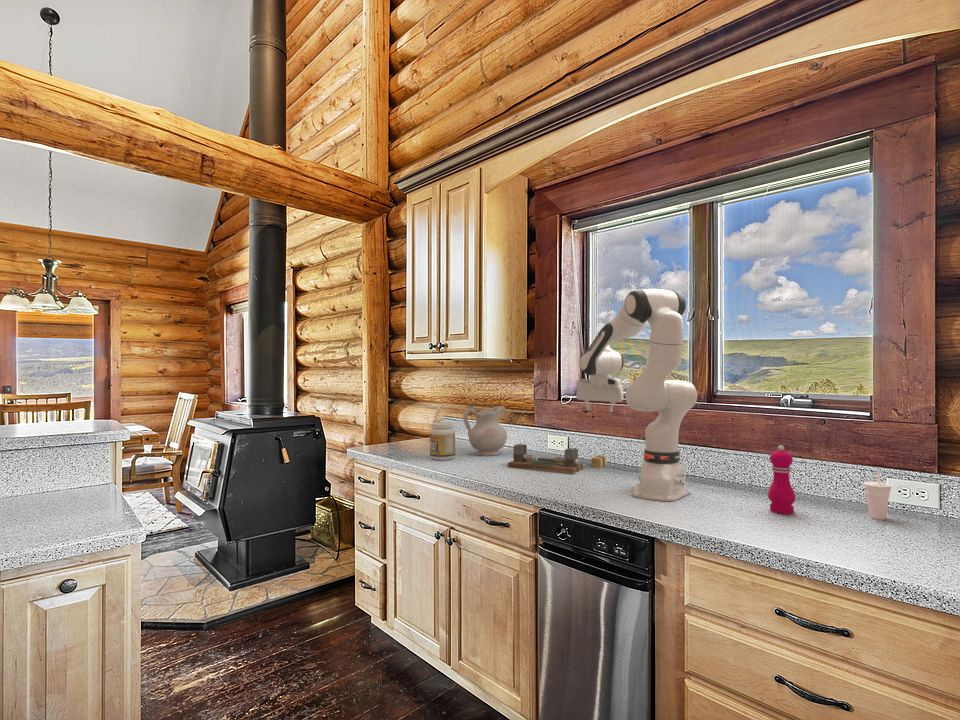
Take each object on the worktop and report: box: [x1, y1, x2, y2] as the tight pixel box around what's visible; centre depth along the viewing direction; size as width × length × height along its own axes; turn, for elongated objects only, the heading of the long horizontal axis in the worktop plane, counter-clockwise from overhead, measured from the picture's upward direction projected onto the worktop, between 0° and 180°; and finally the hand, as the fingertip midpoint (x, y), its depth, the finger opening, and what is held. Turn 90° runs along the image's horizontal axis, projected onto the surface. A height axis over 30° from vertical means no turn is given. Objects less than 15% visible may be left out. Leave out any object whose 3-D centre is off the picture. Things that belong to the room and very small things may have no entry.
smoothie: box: [863, 468, 892, 521], centre depth 151 cm, size 6×6×14 cm
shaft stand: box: [507, 443, 584, 475], centre depth 225 cm, size 12×30×9 cm, turn 59°
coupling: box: [591, 454, 607, 469], centre depth 228 cm, size 4×8×4 cm, turn 149°
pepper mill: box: [767, 445, 796, 515], centre depth 158 cm, size 7×7×20 cm
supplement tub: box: [429, 421, 456, 461], centre depth 250 cm, size 12×12×17 cm
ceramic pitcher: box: [462, 404, 508, 457], centre depth 260 cm, size 22×20×25 cm
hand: (599, 411), depth 229 cm, fingers open, 8 cm apart
